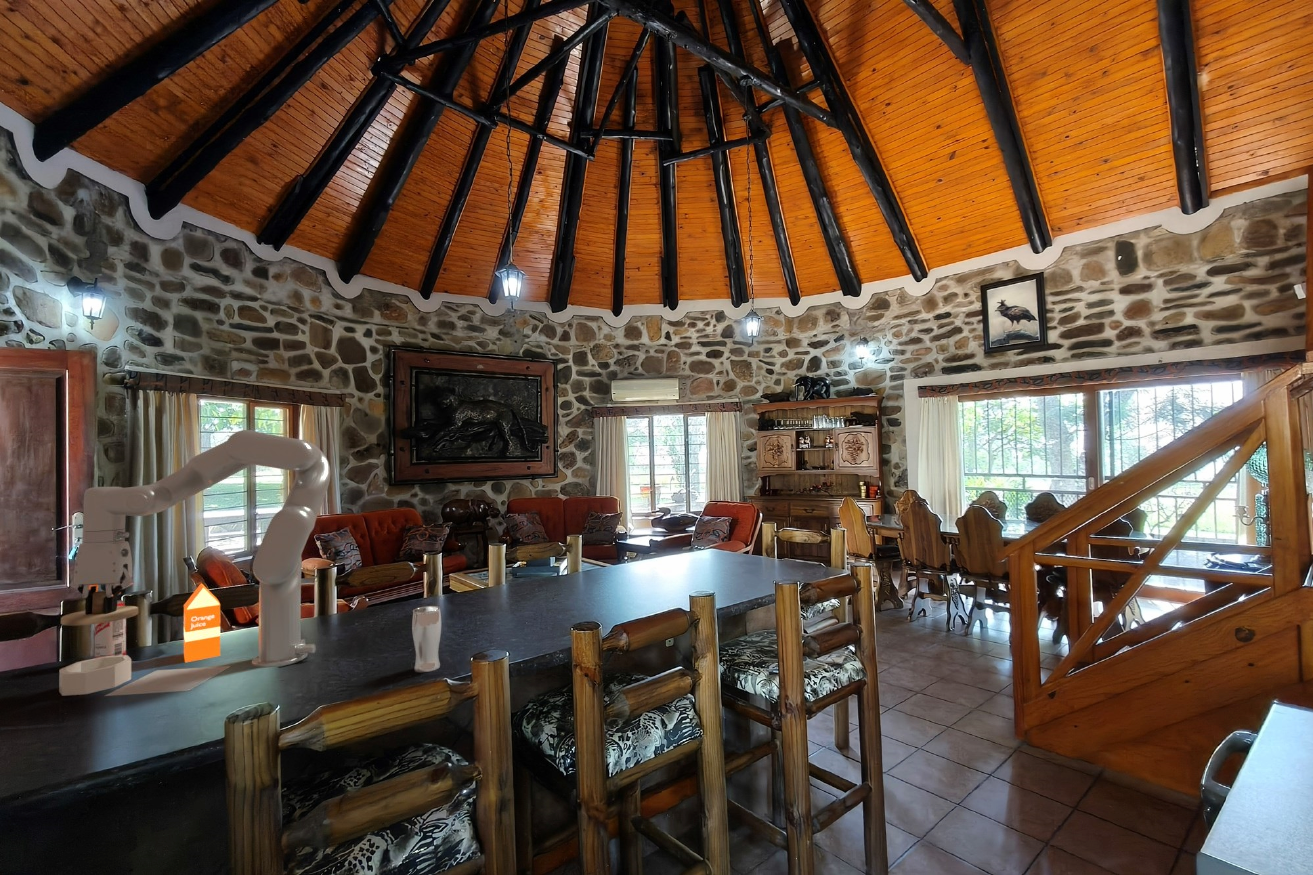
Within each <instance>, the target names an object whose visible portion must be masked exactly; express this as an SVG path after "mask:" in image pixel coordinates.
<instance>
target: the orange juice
mask: <svg viewBox="0 0 1313 875" xmlns="http://www.w3.org/2000/svg"><path fill="white" fill-rule="evenodd" d="M219 656H220V657H221V603H220V601H219V599H218V598H217V596H215V595H214V594H213V593H212V592H211V591H210V590H209V589H208V588H207V587H206V586H205V584H203V583H202V582H201V583H200V584H199V585H198V587H197V588H196V589H195V590H194V591H193V593H192V594H191V595H190V597H189V598H188V599H187V601H186V602H185V603H184V604H183V658H184V663H189V662H194V661H200V660H201V661H202V660H204V659H205V660H206V659H210V658H214V657H219Z"/></svg>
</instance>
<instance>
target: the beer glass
mask: <svg viewBox="0 0 1313 875" xmlns="http://www.w3.org/2000/svg"><path fill="white" fill-rule="evenodd" d="M411 626H412V627H411V629H412V630H411V631H412V632H411V633H412V638H413V644H414V645H413V646H414V649H415V662H414V663H415V664H414V672H416V673H429V672H434V671H436V670H438V669H439V668H440V666H441V663H440V659H439V648H440V647H439V646H440V641H441V636H442V635H441V633H442V614H441V607H440V606H438V605H428V606H425V605H424V606H421V607H420V606H419V607H416V608H415V609H413V610H412V624H411Z"/></svg>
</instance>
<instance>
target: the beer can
mask: <svg viewBox="0 0 1313 875" xmlns="http://www.w3.org/2000/svg"><path fill="white" fill-rule="evenodd" d="M117 606H126V605H125V603H124V600H121V599H119V600H118V599H117ZM113 653H115V654H113ZM100 655H106V656H120V655H127V618H126V619H122V620H117V621H112V622H106V623H100V624H94V659H95V658H100V657H105V656H100Z"/></svg>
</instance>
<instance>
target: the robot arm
mask: <svg viewBox="0 0 1313 875" xmlns="http://www.w3.org/2000/svg"><path fill="white" fill-rule="evenodd" d="M253 465H255V466H258V467H259V466H260V467H267V468H274V469H280V470H286V471H290V472H291V471H292V472H295V478H294V481H293V482H292V486H291V487H290V490H289V492H288V494H287V497H286V500H285V502H284V505H283V507H282V508H281V509H280V510H279V511H277V512H276V513H275V514H274V516H273V517H272V518H271V521H270V522H269V524H268V526H267V529H266V531H265V532H264V536H263V538H262V540H261V543H260V546H259V547H258V550H257V552H256V555H255V557H254V560H253V562H252V573H253V575H254V577H255V578H256V579H257V580H258V581H259V585H258V586H259V587H258V588H259V589H258V656H256V657H254V658H253V659H252V660H251V666H254V667H256V668H257V667H258V668H270V667H278V668H279V667H284V666H289V665H292V664H296V663H298V662H300V661H302V660H304V659H306V658H307V657H308V654H314V653H315V652H316V649H317V648H316V643H308V644H307V643H306V638H304V639H303V638H302V631H301V630H302V629H301V628H302V626H301V623H302V620H301V619H302V618H301V617H302V615H301V614H302V612H301V607H302V606H301V604H302V603H301V600H302V596H301V594H302V590H301V589H302V569H303V568H302V565H303V558H302V553H303V551H304V549H305V546H306V544H307V541H308V539H309V536H310V534H311V533H312V532H313V531H314V528H315V526H316V521H317V518H318V515H319V512H320V510H321V507H322V505H323V501H324V499H325V496H326V494H327V491H328V488H329V486H330V481H331V466H330V463H329V460H328V457H326V455H325V454H324V452H323V451H322V450H321V449H320V448H319V447H318V446H316V445H315V444H314V443H312V442H310V441H308V440H305V439H299V438H293V437H288V436H287V437H286V436H282V435H275V434H271V433H270V434H269V433H264V432H259V431H255V430H251V429H243V430H238V431H236V432H235V433H232V434H231V435H230V436H229V438H228V439H227V440H226V441H223V442H222V443H220V444H218V445H215V446H214V447H211V448H209V449H207V450H205V451H203V452H201V453H199V454H197V455H195V456H193V457H192V458H191V459H190V460H189V461H188V462H187V463H186V464H185V465H184V466H183V467H182V468H180V469H179V470H177V471H175V472H173V473H171V474H170V475H168V476H165V477H163V478H161V479H160V480H158V481H155V482H152V483H151V484H145V485H137V486H131V487H130V486H129V487H121V486H96V487H94V486H93V487H90V488H87V489H86V490H85V492H84V493H83V494H84V495H83V516H82V517H83V518H82V539H81V540H82V541H81V542H82V543H80V544H79V546H78V548H77V553H76V555H75V556H76V557H75V563H74V570H73V579H72V580H71V582H70V584H69V586H70V588H73V589H75V590H77V591H78V592H79V593H80V594H81V596H82V598H83V599H85V602H84V604H85V605H84V610H85V614H86V615H88V614H92V599H93V593H94V592H99V585H101V586H102V585H105V591H106V596H107V597H105V598H104V601H103V614H108V613H111V612H114V611H116V610H117V600H118V596H120V595H121V593H122V592H123V591H124V590H125V589H126V588H128V587H130V586H132V585H134V584H135V583H134V579H133V578H132V577H133V560H132V559H133V558H132V551H131V546H130V543H129V541H126V538H129V537H130V532H127V531H126V517H127V516H131V517H145V516H149V515H153V514H158V513H162V512H164V511H165V510H168V509H170V508H172V507H173V506H176V505H177V504H180V503H182V502H183V501H186V500H187V499H189V498H191V497H193V496H195V495H197V494H199V493H200V492H203V491H204V490H206V489H209V488H212V486H215V485H216V484H218V483H220V482H222V481H225V480H226V479H229V477H231V476H233V475H235V474H237V473H239V472H241V471H243V470H246V469H248V468H249V467H252V466H253Z"/></svg>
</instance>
